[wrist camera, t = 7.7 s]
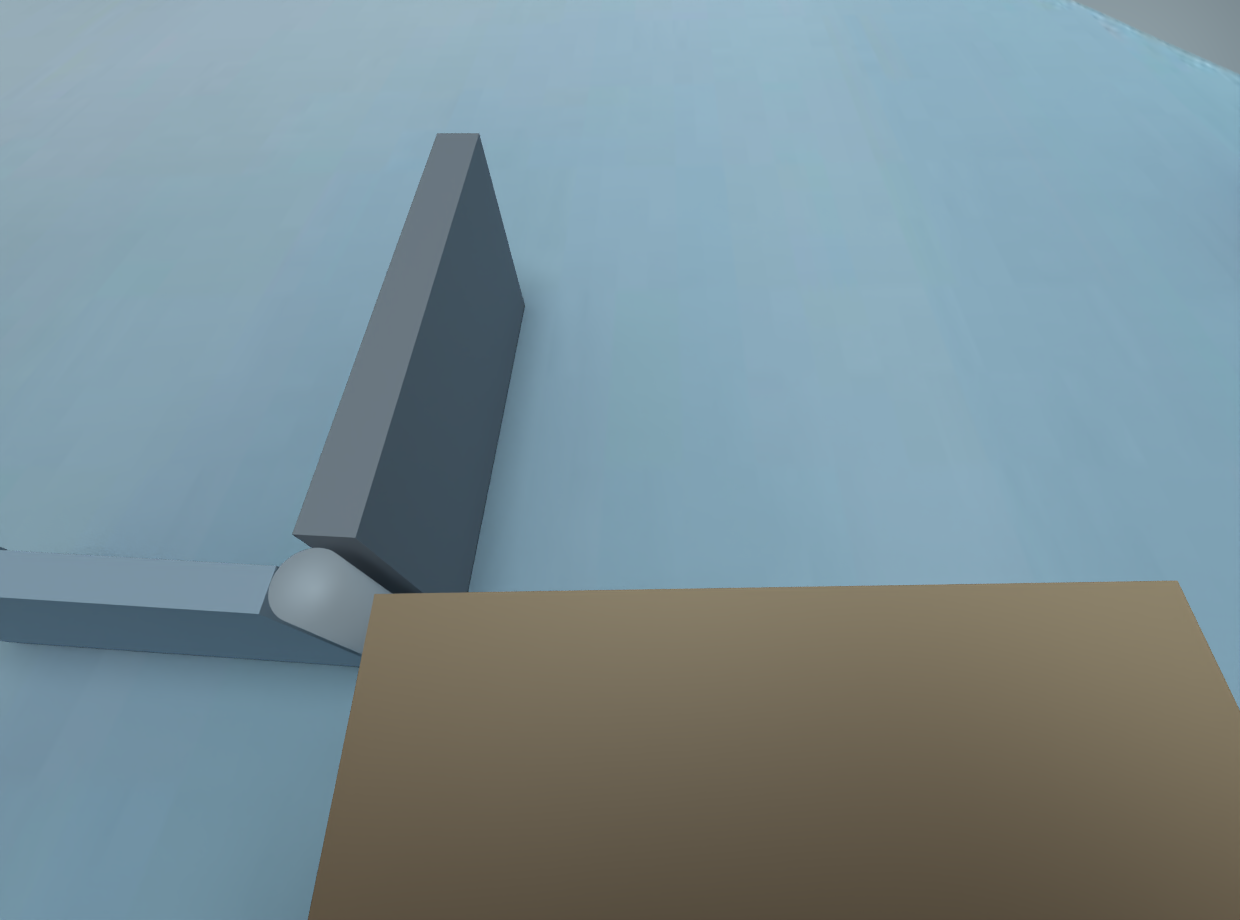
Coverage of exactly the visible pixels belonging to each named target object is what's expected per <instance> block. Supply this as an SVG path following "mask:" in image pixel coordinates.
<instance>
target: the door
mask: <svg viewBox="0 0 1240 920" xmlns="http://www.w3.org/2000/svg"><path fill="white" fill-rule="evenodd" d="M278 568H279V567H277V566H270V565H252V564H235V563H218V562H200V561H183V560H166V559H148V558H131V557H114V556H96V555H79V554H62V553H44V552H27V551H10V550H7V549H4V548H2V547H0V640H1V641H6V642H17V643H31V644H45V645H59V646H73V647H88V648H102V649H116V650H130V651H144V652H159V653H173V654H187V655H201V656H215V657H230V658H244V659H258V660H272V661H286V662H301V663H315V664H329V665H343V666H357V667H360V662H361V657H362V654H360V653H357V652H355V651H353V650H351V649H348V648H346V647H344V646H341V645H339V644H337V643H334V642H332V641H330V640H327V639H325V638H323V637H320V636H318V635H316V634H313V633H311V632H309V631H306V630H304V629H302V628H299V627H297V626H295V625H292V624H290V623H288V622H285V621H283V620H281V619H280V618H278V617H277V616H276V615H275V614H274V613H273V611H272V609H271V607H270V604H269V600H268V591H269V586H270V583H271V580H272V578H273V576H274V574H275V573H276V571H277V570H278Z"/></svg>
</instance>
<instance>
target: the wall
mask: <svg viewBox="0 0 1240 920" xmlns="http://www.w3.org/2000/svg"><path fill="white" fill-rule="evenodd" d="M524 307H525V305H524V301H523V297H522V293H521V290H520V286H519V282H518V278H517V275H516V271H515V267H514V263H513V259H512V256H511V252H510V248H509V244H508V241H507V237H506V233H505V229H504V226H503V222H502V218H501V214H500V210H499V207H498V203H497V199H496V195H495V192H494V188H493V184H492V180H491V177H490V173H489V169H488V165H487V161H486V158H485V154H484V150H483V146H482V143H481V139H480V135H479V133H437V136H436V138H435V141H434V144H433V147H432V149H431V152H430V155H429V158H428V160H427V163H426V166H425V169H424V171H423V174H422V177H421V180H420V182H419V185H418V188H417V191H416V194H415V196H414V199H413V202H412V205H411V207H410V210H409V213H408V216H407V218H406V221H405V224H404V227H403V229H402V232H401V235H400V238H399V241H398V243H397V246H396V249H395V252H394V254H393V257H392V260H391V263H390V265H389V268H388V271H387V274H386V276H385V279H384V282H383V285H382V288H381V290H380V293H379V296H378V299H377V301H376V304H375V307H374V310H373V312H372V315H371V318H370V321H369V323H368V326H367V329H366V332H365V334H364V337H363V340H362V343H361V346H360V348H359V351H358V354H357V357H356V359H355V362H354V365H353V368H352V370H351V373H350V376H349V379H348V381H347V384H346V387H345V390H344V393H343V395H342V398H341V401H340V404H339V406H338V409H337V412H336V415H335V417H334V420H333V423H332V426H331V428H330V431H329V434H328V437H327V440H326V442H325V445H324V448H323V451H322V453H321V456H320V459H319V462H318V464H317V467H316V470H315V473H314V475H313V478H312V481H311V484H310V486H309V489H308V492H307V495H306V498H305V500H304V503H303V506H302V509H301V511H300V514H299V517H298V520H297V522H296V525H295V528H294V531H293V533H292V535H294V536H295V537H297V538H298V539H300V540H301V541H303V542H304V543H306V544H307V545H309V546H310V547H312V548H310V549H306V550H303V551H300V552H298V553H296V554H294V555H293V556H291V557H290V558H289V559H287V560H286V561H285V562H284V563H283V564H282V565H281V566H280V567H279V568H278V570H277V571H276V573H275V574H274V576H273V578H272V580H271V583H270V586H269V591H268V600H269V604H270V607H271V609H272V611H273V613H274V614H275V615H276V616H277V617H278V618H280V619H281V620H283V621H285V622H288V623H290V624H292V625H295V626H297V627H299V628H302V629H304V630H306V631H309V632H311V633H313V634H316V635H318V636H320V637H323V638H325V639H327V640H330V641H332V642H334V643H337V644H339V645H341V646H344V647H346V648H348V649H351V650H353V651H355V652H357V653H360V654H362V652H363V647H364V642H365V637H366V633H367V628H368V623H369V618H370V613H371V608H372V603H373V598H374V594H402V593H463V592H468V588H469V583H470V578H471V573H472V567H473V562H474V557H475V552H476V547H477V542H478V537H479V532H480V527H481V522H482V517H483V512H484V507H485V502H486V497H487V492H488V487H489V482H490V477H491V472H492V467H493V462H494V457H495V452H496V447H497V442H498V437H499V432H500V427H501V422H502V417H503V412H504V407H505V402H506V397H507V392H508V387H509V382H510V377H511V372H512V367H513V362H514V357H515V352H516V347H517V342H518V337H519V332H520V327H521V322H522V317H523V312H524Z"/></svg>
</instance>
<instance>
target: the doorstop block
mask: <svg viewBox="0 0 1240 920" xmlns="http://www.w3.org/2000/svg"><path fill="white" fill-rule="evenodd" d="M308 920H1240V710H1239V708H1238V706H1237V704H1236V702H1235V699H1234V697H1233V695H1232V693H1231V691H1230V689H1229V687H1228V685H1227V683H1226V681H1225V679H1224V677H1223V674H1222V672H1221V670H1220V668H1219V666H1218V664H1217V662H1216V660H1215V658H1214V656H1213V654H1212V652H1211V649H1210V647H1209V645H1208V643H1207V641H1206V639H1205V637H1204V635H1203V633H1202V631H1201V629H1200V627H1199V625H1198V622H1197V620H1196V618H1195V616H1194V614H1193V612H1192V610H1191V608H1190V606H1189V604H1188V602H1187V600H1186V597H1185V595H1184V593H1183V591H1182V589H1181V587H1180V585H1179V583H1178V581H1131V582H1070V583H1009V584H948V585H888V586H827V587H766V588H705V589H645V590H584V591H523V592H463V593H402V594H374V598H373V603H372V608H371V613H370V618H369V623H368V628H367V633H366V637H365V642H364V647H363V652H362V657H361V662H360V667H359V672H358V677H357V681H356V686H355V691H354V696H353V701H352V706H351V711H350V716H349V721H348V726H347V730H346V735H345V740H344V745H343V750H342V755H341V760H340V765H339V770H338V774H337V779H336V784H335V789H334V794H333V799H332V804H331V809H330V814H329V818H328V823H327V828H326V833H325V838H324V843H323V848H322V853H321V858H320V863H319V867H318V872H317V877H316V882H315V887H314V892H313V897H312V902H311V907H310V911H309V916H308Z"/></svg>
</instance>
